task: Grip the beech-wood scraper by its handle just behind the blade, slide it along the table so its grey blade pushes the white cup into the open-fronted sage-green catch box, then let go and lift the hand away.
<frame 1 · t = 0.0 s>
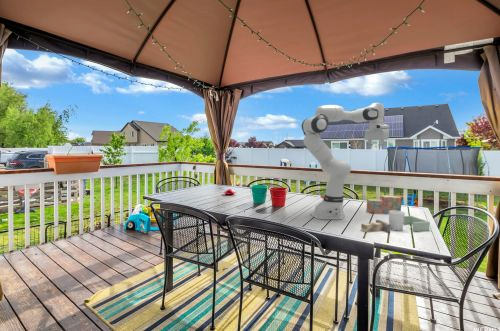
hand: (375, 146, 171), 48 cm above the table, tool pointing down, fingers open, 8 cm apart
white cup: (395, 228, 143), on the table
catch box: (412, 227, 146), on the table
stack of blocks: (383, 213, 177), on the table
scraper: (372, 230, 140), on the table
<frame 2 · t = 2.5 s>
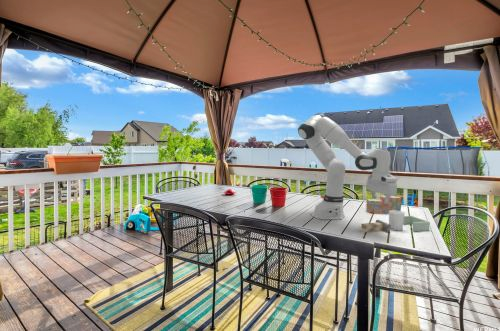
hand: (379, 200, 139), 17 cm above the table, tool pointing down, fingers open, 8 cm apart
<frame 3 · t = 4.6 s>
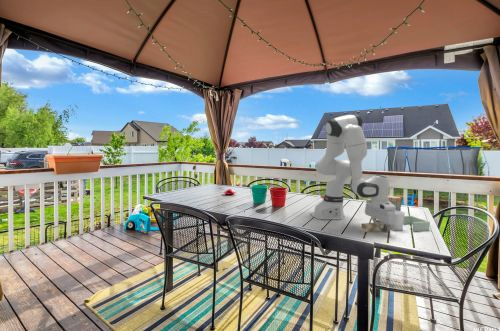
hand: (378, 226, 141), 2 cm above the table, tool pointing down, fingers closed on scraper, 3 cm apart
scraper: (372, 230, 140), on the table, touching gripper
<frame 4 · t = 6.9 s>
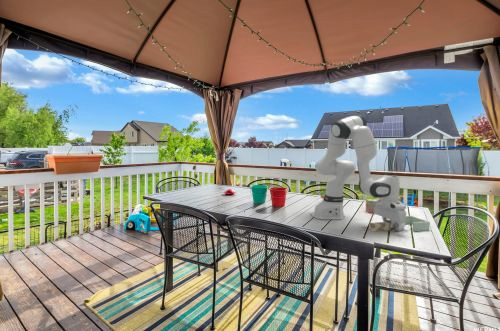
hand: (388, 226, 142), 2 cm above the table, tool pointing down, fingers closed on scraper, 3 cm apart
white cup: (397, 228, 143), on the table, touching scraper
scraper: (380, 229, 141), on the table, touching white cup, gripper
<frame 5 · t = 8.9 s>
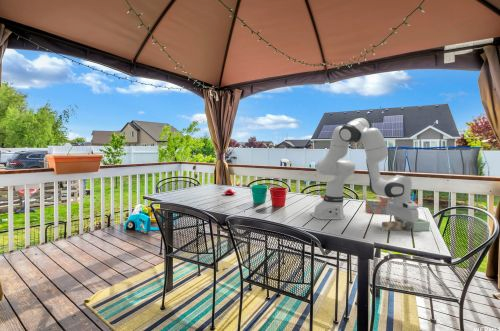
hand: (400, 225, 144), 2 cm above the table, tool pointing down, fingers closed on scraper, 3 cm apart
white cup: (409, 227, 145), on the table, touching scraper
scraper: (392, 228, 143), on the table, touching white cup, gripper
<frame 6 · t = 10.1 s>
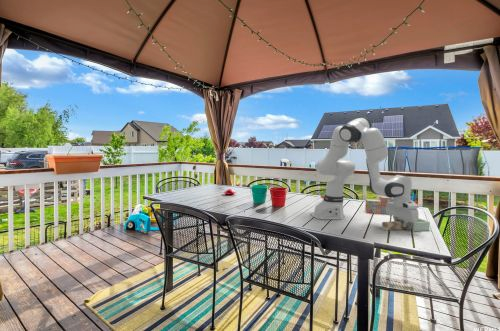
hand: (400, 225, 144), 2 cm above the table, tool pointing down, fingers closed on scraper, 4 cm apart
scraper: (392, 228, 143), on the table, touching white cup, gripper
when the fingers open (2 cm above the table, at t = 10.7 s): scraper moves 1 cm, on the table.
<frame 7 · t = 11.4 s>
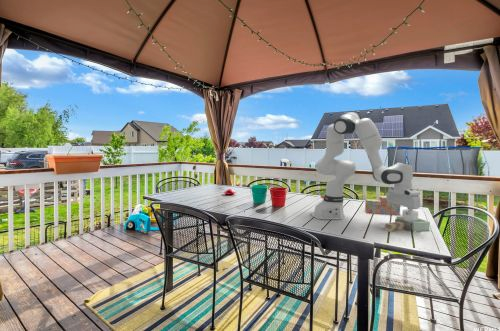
hand: (401, 212, 145), 9 cm above the table, tool pointing down, fingers open, 8 cm apart
white cup: (409, 227, 145), on the table
scraper: (394, 229, 141), on the table
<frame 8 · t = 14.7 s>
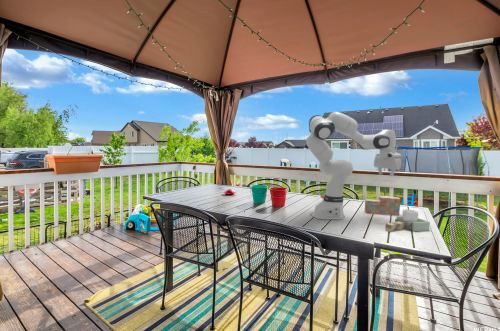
hand: (385, 175, 161), 29 cm above the table, tool pointing down, fingers open, 8 cm apart
at the end: white cup 2.6 cm from the target spot, on the table; white cup tilted 0°; the gripper is holding nothing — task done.
